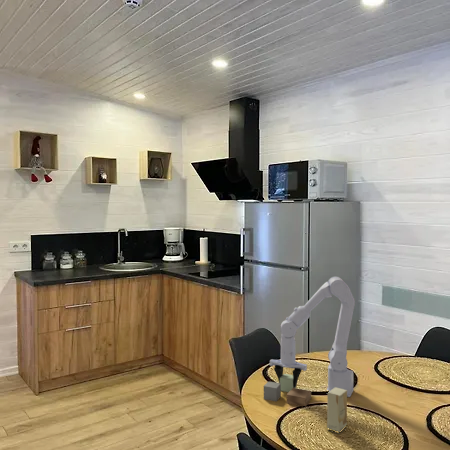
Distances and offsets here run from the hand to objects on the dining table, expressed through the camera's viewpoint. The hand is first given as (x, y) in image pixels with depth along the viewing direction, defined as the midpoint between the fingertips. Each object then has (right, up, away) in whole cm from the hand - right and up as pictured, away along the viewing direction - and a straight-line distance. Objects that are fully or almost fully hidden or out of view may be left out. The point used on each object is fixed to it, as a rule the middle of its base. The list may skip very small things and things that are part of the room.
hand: (288, 385), depth 179 cm
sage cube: (0, -1, 0) cm, 1 cm away
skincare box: (+11, -3, -32) cm, 34 cm away
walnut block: (+2, -2, -11) cm, 12 cm away
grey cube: (-7, -2, -8) cm, 11 cm away
